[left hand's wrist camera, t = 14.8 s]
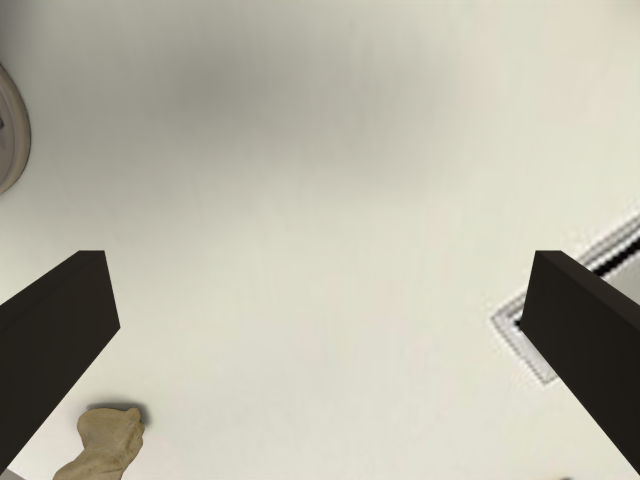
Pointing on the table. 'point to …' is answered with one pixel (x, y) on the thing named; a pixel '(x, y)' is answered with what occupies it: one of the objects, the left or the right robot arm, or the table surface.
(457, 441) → the table surface
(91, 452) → the sculpture
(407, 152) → the table surface
